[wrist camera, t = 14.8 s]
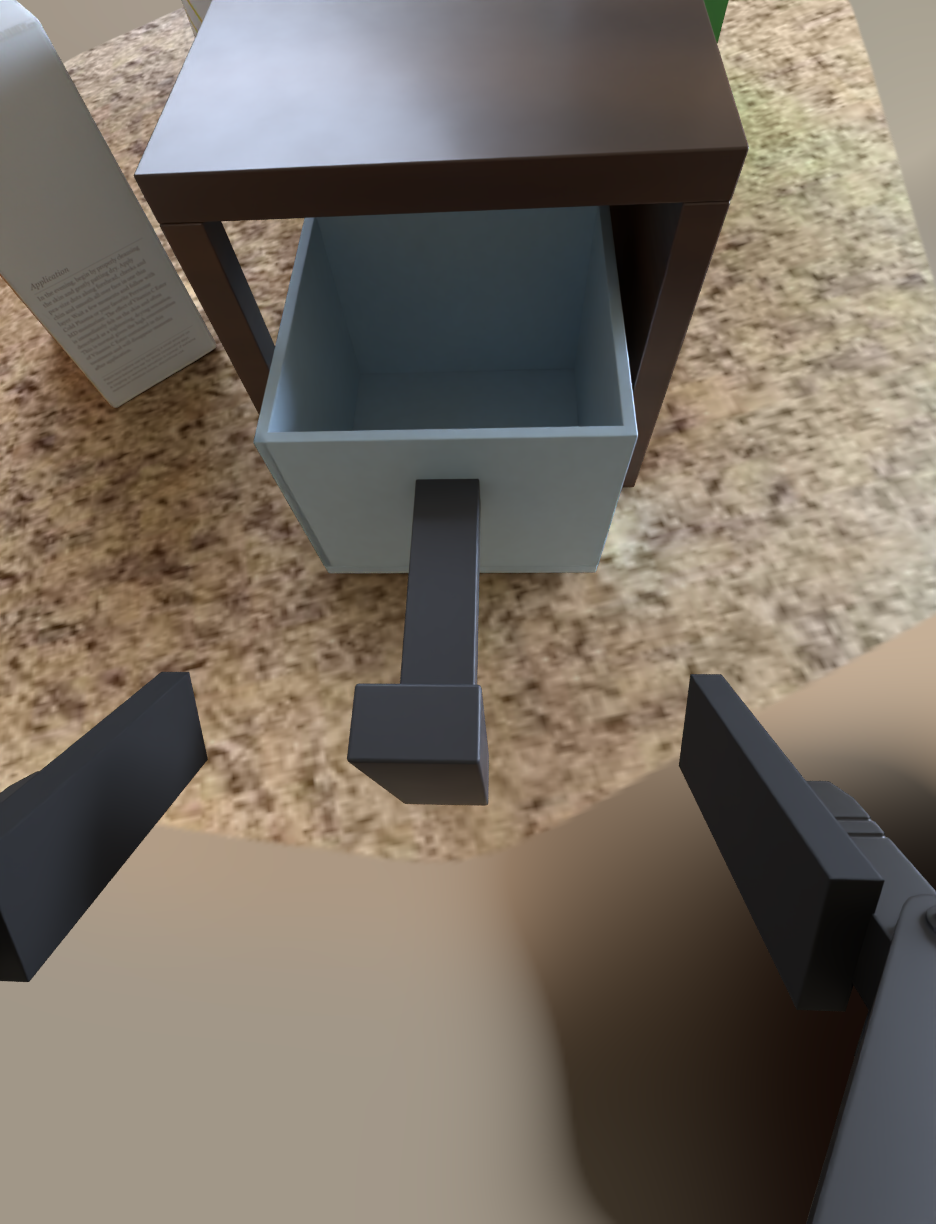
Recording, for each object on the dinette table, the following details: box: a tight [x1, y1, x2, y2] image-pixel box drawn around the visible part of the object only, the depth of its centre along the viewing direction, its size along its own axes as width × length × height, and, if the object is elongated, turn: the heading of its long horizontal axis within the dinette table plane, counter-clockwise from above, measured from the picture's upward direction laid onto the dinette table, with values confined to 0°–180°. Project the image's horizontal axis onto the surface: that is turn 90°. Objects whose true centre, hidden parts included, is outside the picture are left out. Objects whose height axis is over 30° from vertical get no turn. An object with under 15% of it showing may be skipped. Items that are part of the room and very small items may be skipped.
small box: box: [0, 0, 217, 408], centre depth 25 cm, size 8×6×13 cm
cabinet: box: [134, 0, 749, 487], centre depth 23 cm, size 14×15×13 cm
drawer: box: [254, 205, 638, 805], centre depth 20 cm, size 20×11×10 cm, turn 179°
